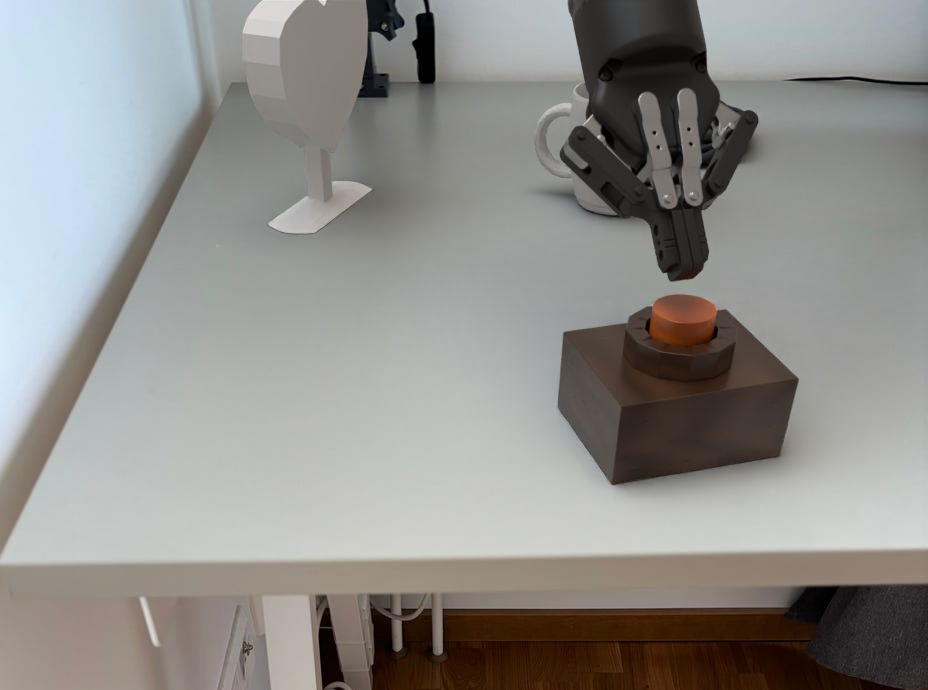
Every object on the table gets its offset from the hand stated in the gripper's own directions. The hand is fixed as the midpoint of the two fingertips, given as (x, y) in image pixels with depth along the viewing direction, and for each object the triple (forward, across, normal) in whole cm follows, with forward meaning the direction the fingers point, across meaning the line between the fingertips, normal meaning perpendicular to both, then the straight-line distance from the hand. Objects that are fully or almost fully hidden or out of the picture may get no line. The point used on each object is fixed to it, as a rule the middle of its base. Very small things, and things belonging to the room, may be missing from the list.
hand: (687, 275), depth 67 cm
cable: (-29, +27, +45) cm, 60 cm away
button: (+3, 0, +2) cm, 4 cm away
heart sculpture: (-24, -15, +40) cm, 49 cm away
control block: (+8, 0, +7) cm, 11 cm away
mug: (-20, +11, +36) cm, 42 cm away
